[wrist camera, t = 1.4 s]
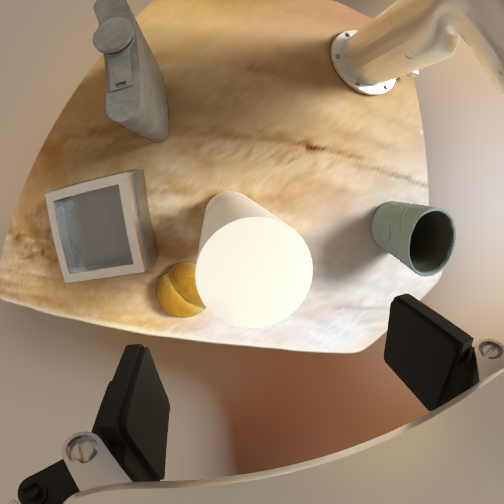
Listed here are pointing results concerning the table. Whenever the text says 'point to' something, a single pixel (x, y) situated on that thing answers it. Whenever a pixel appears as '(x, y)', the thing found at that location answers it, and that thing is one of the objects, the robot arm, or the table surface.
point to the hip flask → (130, 72)
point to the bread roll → (179, 291)
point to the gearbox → (102, 227)
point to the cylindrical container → (250, 263)
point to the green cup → (415, 235)
